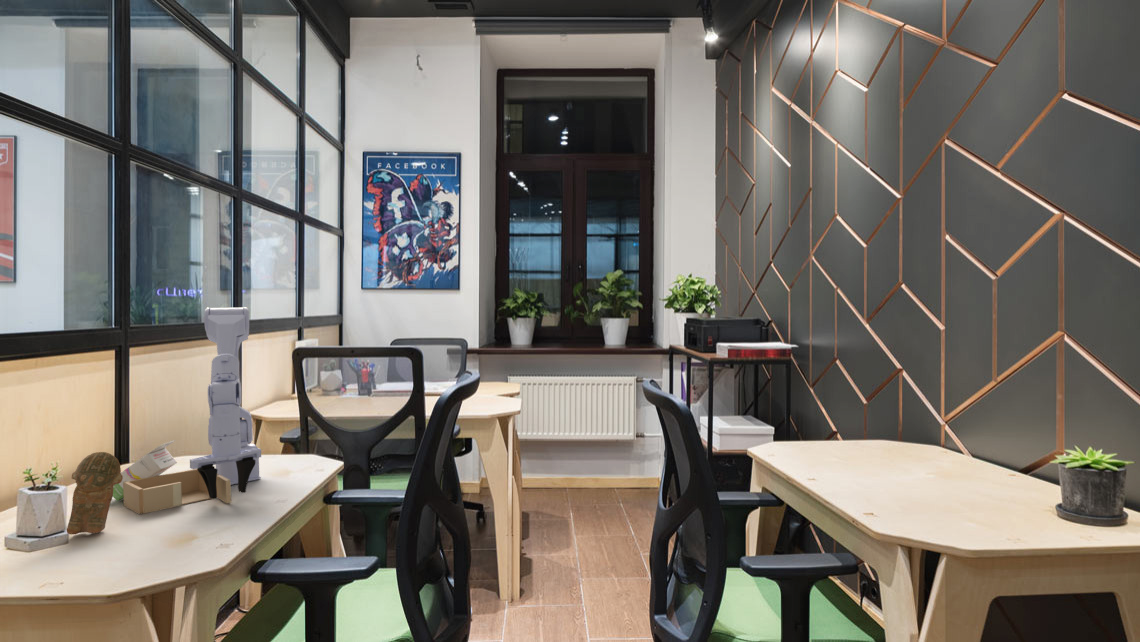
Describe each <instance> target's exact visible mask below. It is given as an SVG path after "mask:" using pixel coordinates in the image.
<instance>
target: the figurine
mask: <svg viewBox="0 0 1140 642" xmlns="http://www.w3.org/2000/svg"><path fill="white" fill-rule="evenodd" d="M121 468H122V467H121V464H120V462H119V459H118V458H117V457H116V456H114V455H113V454H111V453H109V452H105V451H98V452H93V453H91V454H89V455H87V456H85V457H84V458H82V460H81V461H80V462H79V464H78V465H77V468H76V469H75V471H73V473H72V474H71V479H72V480H75V485H76V486H75V488H74V491H73V493H72V505H71V512H70V517H69V519H68V524H67V527H66V533H67V534H69V535H77V534H82V533H89V534H99V533H101V532H102V531H104V530H105V528H106V524H107V519H108V514H109V510H110V505H111V504H112V503H111V502H112V500H113V498H114V497H113V486H114V485H115V484H119V483H120V482H121V481H122V479H123V476H122V475H121V472H122V469H121Z"/></svg>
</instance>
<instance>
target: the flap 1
mask: <svg viewBox="0 0 1140 642" xmlns="http://www.w3.org/2000/svg"><path fill="white" fill-rule="evenodd" d="M142 490H143V513H144V514H148V512H149V513H153V512H156V511H157V510H158V511H162V509H163V510H166V509H167V510H168V509H171V507H172V508H175V507H176V508H177V507H180V506H183V505H182V491H181V482H178V483H172V484H167V485H162V486H157V487H151V488H146V489H142ZM158 511H157V512H158Z"/></svg>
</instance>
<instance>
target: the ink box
mask: <svg viewBox="0 0 1140 642" xmlns="http://www.w3.org/2000/svg"><path fill="white" fill-rule="evenodd" d="M175 441H176V439H174V440H171V441H168V442H164V443H162V444H160V445H158V446H157V447H155V448H153V449H152V450H151V451H149V452H148V453H146V454H145V455H143V456H142V457H140V459H138V460H136V461H135V462H134V463H132V464H131V465H129V466H128V467H127V468H126V469H124V470H123V471H121V475H122V476H123V479H122V481H121V482H120V483H119V484H115V485H114V486H113V497H112V498H114V499H115V501H116V502H119V501H120V500H124V497H123V482H126V481H131V480H137V479H142V478H148V477H153V476H159V475H163V473H165V472H166V471H167V470H169V469H170V468H172V467H173V466H175V465H177V463H178V462H177V461H176V459H175V458H174V457H173V456H172V454H171V453H170V452H169V450H168V449H167V448H166V447H169V445H172V444H173V443H174V442H175Z"/></svg>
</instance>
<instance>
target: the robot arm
mask: <svg viewBox="0 0 1140 642" xmlns="http://www.w3.org/2000/svg"><path fill="white" fill-rule="evenodd" d="M203 315H204V317H203V318H204V320H203V321H204V331H205V332H206V333H205V334H206V337H207V339H208V341H210V342H212V343H215V344H216V351H217V355H216V356H215V357H213V359H211V367H210V368H211V370H210V372H211V373H210V384H208V385H207V403H208V407H209V418H208V428H207V429H208V430H207V438H208V445H209V446H210V447H211V454H208V455H204V456H199V457H195V458H190V459H189V469H190V470H192V469H197V470H198V472H199V473H200V475H201V476H202V478H203V480H204V482H205V484H206V486H207V489H208V493H209V497H210V498H212V499H211V500H215V499H217V498H216V497H217V490H216V478H217V474H219V475H221V476H223V477H225V478H227V479H229V480H230V483H231V486H233V485H237V488H238V489H237V490H238V492H240V493H242V494H243V493H246V492H247V491H246V490H247V485H248V482H252V481H257V480H260V479H261V476H260V458H262V449H261V448H259V447H257V445H256V444H255V443H252V442H253V441H254V440H253V433H254V432H253V431H254V430H253V420H252V414H251V412H250V411H249V410H247V409H246V408H243V407H242V406H241V404H242V383H241V379H240V378H241V377H240V359H239V349H240V347H241V344H242V343H243V342H244V341H247V340H248V339H249V336H250V310H249V308H248V307H247V306H243V307H206V308H205V309H204V313H203Z"/></svg>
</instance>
